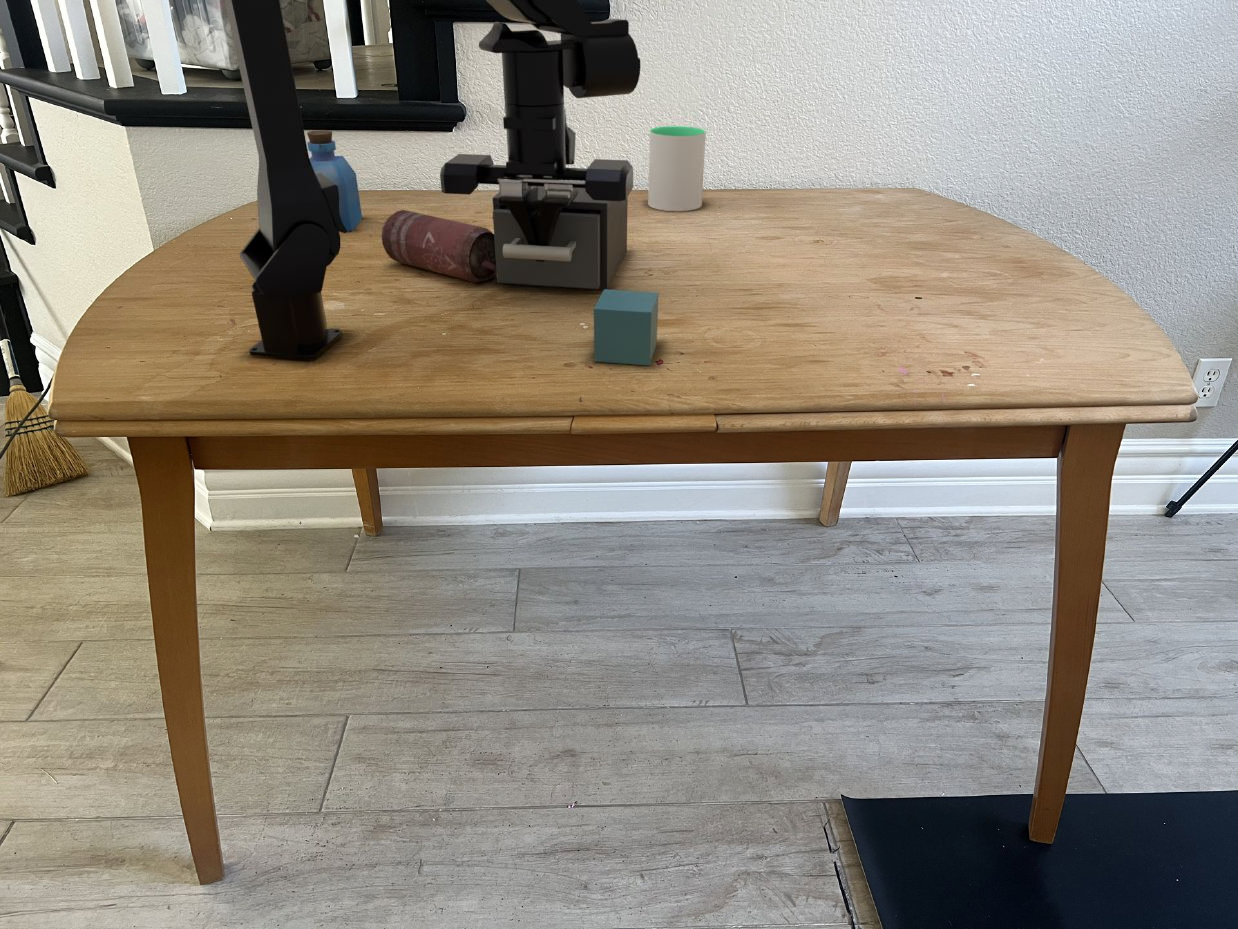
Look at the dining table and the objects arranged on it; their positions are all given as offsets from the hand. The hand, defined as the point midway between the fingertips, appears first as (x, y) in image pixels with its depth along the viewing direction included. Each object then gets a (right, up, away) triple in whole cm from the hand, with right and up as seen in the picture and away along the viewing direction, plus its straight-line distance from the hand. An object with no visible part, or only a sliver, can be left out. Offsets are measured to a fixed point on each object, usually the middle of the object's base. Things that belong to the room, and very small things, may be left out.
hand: (541, 260), depth 90 cm
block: (+9, -11, -10) cm, 17 cm away
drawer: (+1, 0, +7) cm, 7 cm away
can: (-18, +6, +12) cm, 23 cm away
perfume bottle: (-31, +11, +27) cm, 42 cm away
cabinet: (+2, +2, +12) cm, 12 cm away
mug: (+16, +18, +40) cm, 47 cm away
